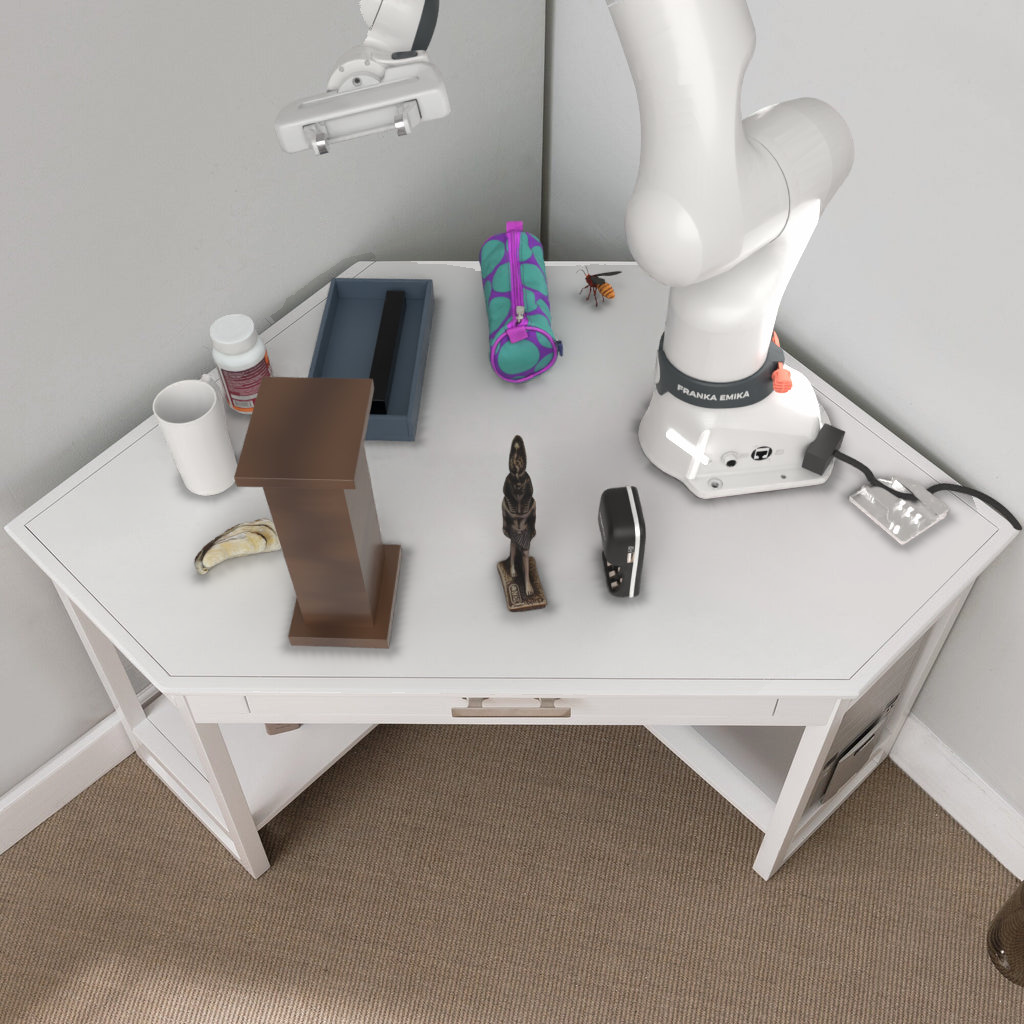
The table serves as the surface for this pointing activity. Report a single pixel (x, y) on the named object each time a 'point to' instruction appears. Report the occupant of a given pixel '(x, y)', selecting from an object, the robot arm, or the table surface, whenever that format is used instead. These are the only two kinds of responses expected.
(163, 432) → the mug
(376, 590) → the stand
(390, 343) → the rod
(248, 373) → the pill bottle
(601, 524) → the battery charger
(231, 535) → the oyster shell
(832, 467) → the robot arm
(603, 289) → the insect
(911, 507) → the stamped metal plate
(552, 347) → the pencil case
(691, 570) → the table surface
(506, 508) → the statue
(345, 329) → the tray
